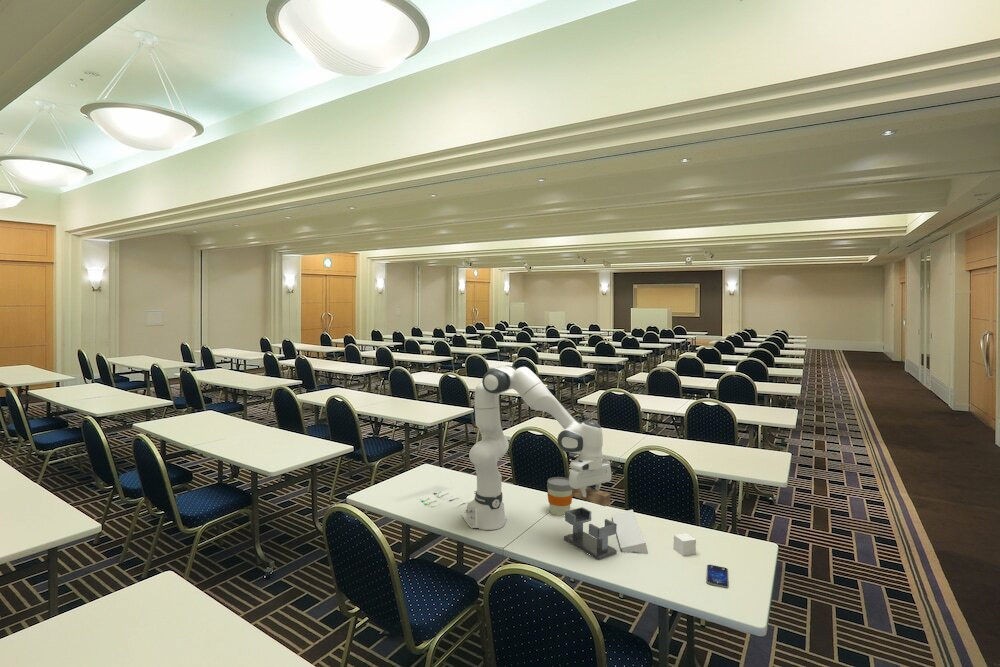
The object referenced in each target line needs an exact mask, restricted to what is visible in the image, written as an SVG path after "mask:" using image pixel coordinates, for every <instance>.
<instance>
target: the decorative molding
mask: <svg viewBox="0 0 1000 667" xmlns="http://www.w3.org/2000/svg"><path fill="white" fill-rule="evenodd" d="M611 517H612V522H613V523H615V524H617V528H616V535H617V538H618V539H617V540H618V542H619V546H620V550H621V551H622V553H632V554H633V553H634V554H635V553H639V554H649V551H648V547H647V546H648V545H647V543H646V540H645V537H644V535H643V533H642V530H641V528H640V525H639V522H638V520H637V518H636V514H635V512H634V509H629V510H624V511H619V512H614V513H611Z"/></svg>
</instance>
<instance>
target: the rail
mask: <svg viewBox="0 0 1000 667" xmlns="http://www.w3.org/2000/svg"><path fill="white" fill-rule="evenodd" d="M585 491H586V492H587V493H588V497H583V496H582V491H581V489H580V488H579V489H574V488H572V497H574V498H577V499H580V500H583V501H586V502H589V503H593V504H595V505H599V506H602V507H607V506H609V505H611V493H609V492H605V491H601V490H600V489H599V490H595V488H593V487H590V486H588V487H586V489H585Z"/></svg>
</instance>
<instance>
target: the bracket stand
mask: <svg viewBox="0 0 1000 667" xmlns="http://www.w3.org/2000/svg"><path fill="white" fill-rule="evenodd" d="M591 521H592V511H591V510H589V509H587V508H586V507H583V506H581V507H578V508H573V509H570V510H569V511H565V516H564V522H567V523H568V524H569V525H572V533H570V534H567V535H566V534H565V535H563V540H564V541H566V542H567V543H569V544H571V545H572V546H574V547H576V548H577V549H579V550H580V551H582V550H583V551H582V552H584V553H586V554H587V553H588V554H587V555H589V554H590V555H589V556H590V557H592V556H593V557H592V558H594V559H596V560H597V561H599V560H603V559H604V558H608V557H611V556H614V555H616V554H617V552H618V550H617V549H616V548H615V547H612V546H610V545H609V537H611V536H614V535H617V532H616V528H617V524H615V523H614V522H613V521H611V520H609V519H607V518H606V519H604V526H603V527H598V526H596V525H595V524H593V523H589V524H588V533H587V532H585V531H584V524H585V523H588V522H591Z"/></svg>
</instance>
